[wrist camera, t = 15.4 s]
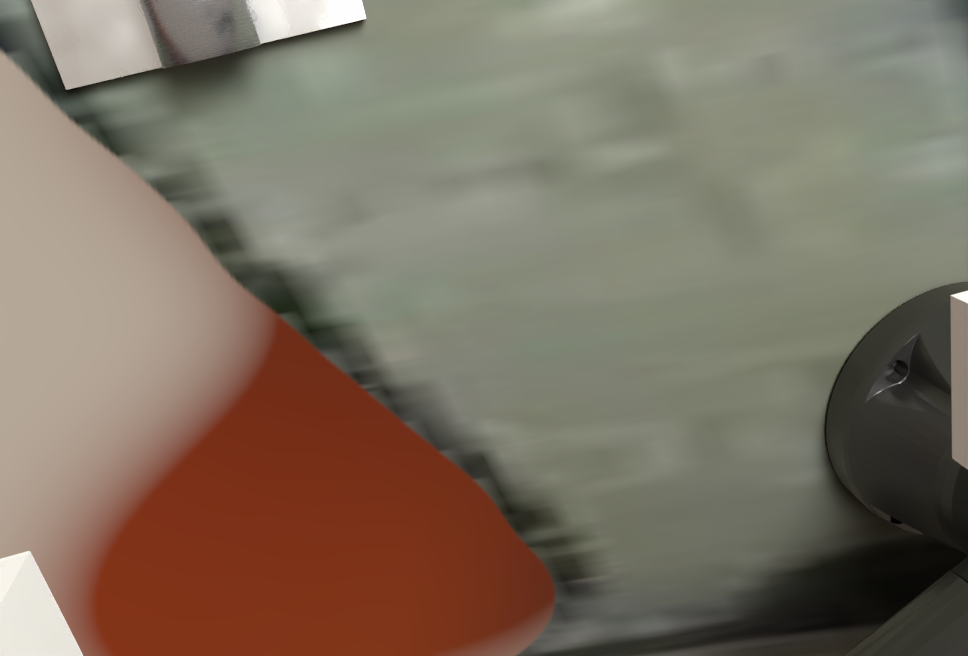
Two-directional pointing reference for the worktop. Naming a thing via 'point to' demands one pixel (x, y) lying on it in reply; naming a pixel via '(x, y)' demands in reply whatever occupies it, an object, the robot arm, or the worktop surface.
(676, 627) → the worktop surface
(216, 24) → the hinge leaf
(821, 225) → the worktop surface
